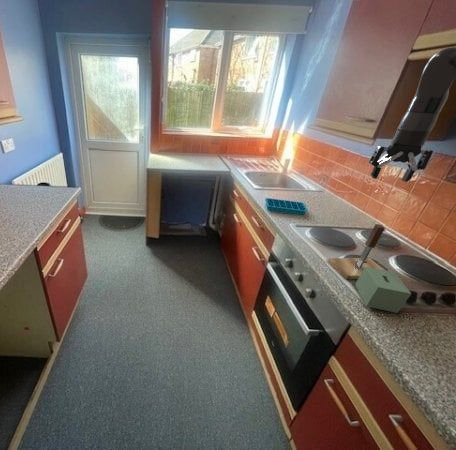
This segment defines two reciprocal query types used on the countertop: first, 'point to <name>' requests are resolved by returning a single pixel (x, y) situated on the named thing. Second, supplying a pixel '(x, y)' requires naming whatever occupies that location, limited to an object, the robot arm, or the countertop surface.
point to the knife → (371, 243)
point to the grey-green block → (382, 289)
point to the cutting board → (351, 266)
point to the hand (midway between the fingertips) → (388, 179)
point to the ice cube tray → (285, 206)
